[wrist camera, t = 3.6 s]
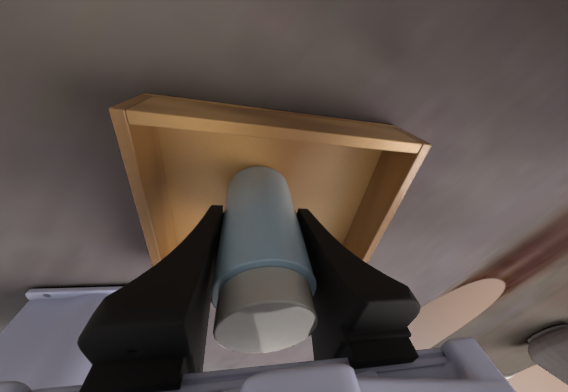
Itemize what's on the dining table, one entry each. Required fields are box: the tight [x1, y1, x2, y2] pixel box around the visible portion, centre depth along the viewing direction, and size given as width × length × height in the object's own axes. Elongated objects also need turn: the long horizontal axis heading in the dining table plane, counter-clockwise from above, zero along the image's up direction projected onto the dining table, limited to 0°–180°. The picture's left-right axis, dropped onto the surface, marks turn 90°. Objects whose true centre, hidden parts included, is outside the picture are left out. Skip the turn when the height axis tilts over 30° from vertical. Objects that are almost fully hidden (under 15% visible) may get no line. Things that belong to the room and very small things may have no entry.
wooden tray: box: [109, 93, 432, 266], centre depth 15 cm, size 15×13×4 cm
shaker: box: [210, 166, 318, 353], centre depth 11 cm, size 4×4×9 cm
